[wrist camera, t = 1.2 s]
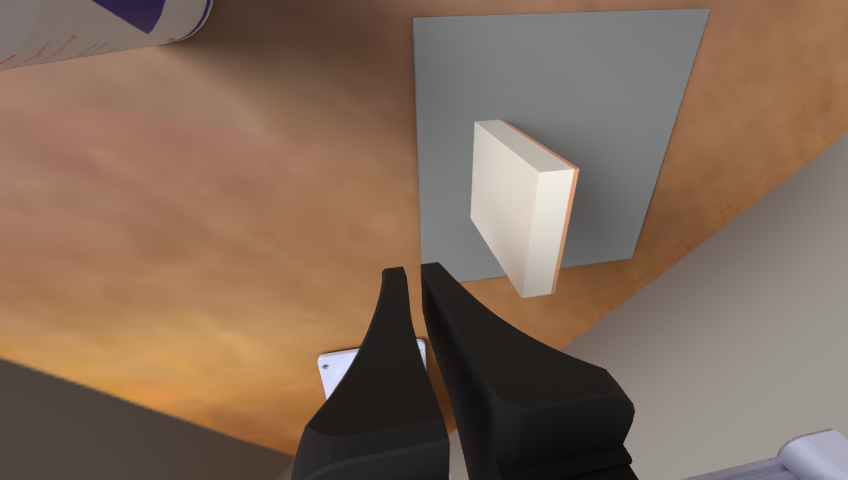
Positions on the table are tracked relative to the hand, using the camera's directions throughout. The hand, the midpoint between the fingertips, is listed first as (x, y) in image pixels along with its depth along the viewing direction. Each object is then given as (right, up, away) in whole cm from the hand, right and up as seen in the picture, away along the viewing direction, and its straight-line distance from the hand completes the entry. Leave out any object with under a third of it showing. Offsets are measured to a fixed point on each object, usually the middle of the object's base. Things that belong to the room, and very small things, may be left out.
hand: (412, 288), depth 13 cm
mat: (+8, +6, +10) cm, 14 cm away
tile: (+5, +4, +6) cm, 8 cm away
